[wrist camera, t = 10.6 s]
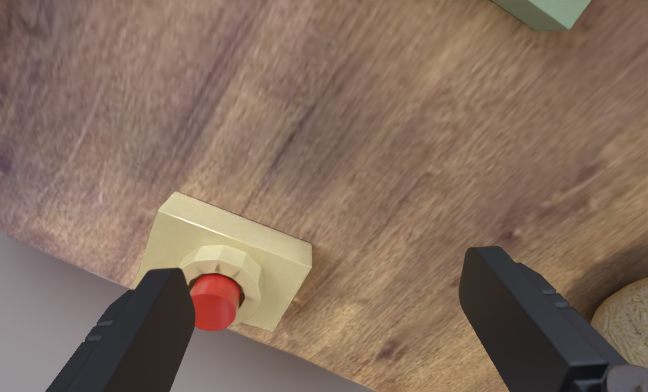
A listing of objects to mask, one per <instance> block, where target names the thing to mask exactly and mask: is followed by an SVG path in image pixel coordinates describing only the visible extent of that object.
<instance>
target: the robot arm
mask: <svg viewBox="0 0 648 392" xmlns="http://www.w3.org/2000/svg"><path fill="white" fill-rule="evenodd" d="M459 299H460V304H461V307H462V309H463V311H464V313H465V315H466V317H467V319H468V320H469V322H470V324H471V325H472V327H473V329H474V331H475V332H476V334H477V336H478V338H479V339H480V341H481V343H482V345H483V346H484V348H485V350H486V351H487V353H488V355H489V357H490V358H491V360H492V362H493V364H494V365H495V367H496V369H497V370H498V372H499V374H500V376H501V377H502V379H503V381H504V383H505V384H506V386H507V388H508V390H509V391H510V392H648V368H646V367H642V366H638V365H631V364H630V363H628V362H627V361H626V360H625V359H624V358H623V357H622V356H621V355H620V354H619V353H618V352H617V351H616V350H615V349H614V348H613V347H612V346H611V345H610V344H609V343H608V342H607V341H606V340H605V339H604V338H603V337H602V336H601V335H600V334H599V333H598V332H597V331H596V330H595V329H594V328H593V327H592V326H591V325H590V324H589V323H588V322H587V321H586V320H585V319H584V318H583V317H582V316H581V315H580V314H579V313H578V312H577V311H576V310H575V309H574V308H573V307H570V306H569V303H568V302H567V301H566V300H565V299H564V298H563V297H562V296H561V295H560V294H559V293H556V290H555V289H554V288H553V287H552V286H551V285H550V284H549V283H548V282H547V281H546V280H545V279H544V278H543V277H542V276H541V275H540V274H538V273H537V272H535V271H533V270H532V269H530V268H528V267H527V266H525V265H524V264H522V263H515V262H514V261H513V260H512V259H511V258H510V256H509V255H508V254H507V253H506V252H505V251H504V250H503V249H502V248H501V247H499V246H485V247H471V248H468V249H467V251H466V254H465V259H464V264H463V270H462V275H461V280H460V286H459ZM195 319H196V313H195V307H194V304H193V300H192V297H191V294H190V291H189V288H188V285H187V282H186V279H185V275H184V273H183V271H182V269H181V268H178V267H177V268H163V269H151V270H149V271H147V272H146V274H145V275H144V277H143V278H142V279H141V281H140V282H139V284H138V285H137V287H136V288H135V290H128V291H127V292H126V293H124V294H123V295H122V296H121V297H120V298H118V299H117V300H116V301H115V302H113V303H112V304H111V305H110V306H109V307H108V308H107V310H106V311H105V313H104V314H103V315H102V316H101V318H100V319H99V321H98V322H97V326H96V327H93V329H92V330H91V332H90V333H89V334H88V335H87V337H86V339H85V342H82V343H81V345H80V346H79V347H78V349H77V350H76V351H75V353H74V354H73V356H72V357H71V358H70V360H69V361H68V362H67V363H66V365H65V366H64V367H63V369H62V370H61V372H60V373H59V374H58V376H57V377H56V378H55V380H54V381H53V382H52V384H51V385H50V386H49V388H48V389H47V390H46V392H169V391H170V389H171V387H172V384H173V382H174V379H175V376H176V374H177V371H178V369H179V366H180V364H181V361H182V359H183V356H184V353H185V351H186V348H187V346H188V343H189V341H190V338H191V335H192V333H193V330H194V327H195Z"/></svg>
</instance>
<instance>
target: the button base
mask: <svg viewBox="0 0 648 392" xmlns="http://www.w3.org/2000/svg"><path fill="white" fill-rule="evenodd" d="M177 267H178V268H181V269H182V271H183V273H184V275H185V279H186V282H187V285H188V288H189V291H190V290H191V288H192V286H193V284H194V282H195V281H196V280H197V279H198V278H199V277H201V276H202V275H205V274H209V273H220V274H223V275H226V276H229V277H231V278H232V279H234V280H235V281H236V282H237V283H238V284H239V286H240V288H241V299H240V303H239V306H238V310H237V314H236V317H235V320H234V321H233V323H232V324H231V325H230V326H232V325H237V324H239V323H244V324H247V325H251V326H254V327H257V328H260V329H264V330H267V331H270V332H273V331H274V330H275V328H276V326H277V325H278V323H279V322H280V320H281V318H282V317H283V315H284V313H285V312H286V310H287V308H288V307H289V305H290V303H291V302H292V300H293V298H294V297H295V295H296V293H297V292H298V290H299V288H300V287H301V285H302V283H303V282H304V280H305V278H306V277H307V275H308V273H309V272H310V270H311V268H312V244H310V243H307V242H305V241H302V240H300V239H297V238H295V237H292V236H289V235H287V234H284V233H282V232H279V231H277V230H274V229H271V228H269V227H266V226H264V225H261V224H259V223H256V222H253V221H251V220H248V219H246V218H243V217H241V216H238V215H235V214H233V213H230V212H228V211H225V210H223V209H220V208H218V207H215V206H212V205H210V204H207V203H205V202H202V201H200V200H197V199H194V198H192V197H189V196H187V195H184V194H182V193H179V192H176V191H175V192H174V193H173V194H172V195H171V196H170V197H169V198H168V199H167V201H166V202H165V203H164V204H163V205H162V206H161V207H160V208H159V209H158V211H157V214H156V217H155V220H154V224H153V227H152V230H151V233H150V236H149V240H148V243H147V246H146V249H145V252H144V256H143V259H142V262H141V265H140V268H139V272H138V275H137V278H136V281H135V285H134V288H133V289H134V290H135V288H136V287H137V285H138V284H139V282H140V281H141V279H142V278H143V277H144V275H145V274H146V272H147V271H149V270H151V269H163V268H177Z"/></svg>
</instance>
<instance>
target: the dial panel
mask: <svg viewBox="0 0 648 392" xmlns="http://www.w3.org/2000/svg"><path fill="white" fill-rule="evenodd" d="M492 1H493V2H494V3H496V4H497V5H499V6H500V7H502V8H503V9H505V10H506V11H507V12H509V13H510V14H512V15H513V16H515V17H516V18H518V19H519V20H520V21H522V22H523V23H525V24H526V25H528V26H529V27H531V28H532V29H533V30H535V31H553V30H569V29H570V28H571V27H572V26H573V24H574V23H575V22H576V20H577V19H578V18H579V16H580V15H581V14H582V12H583V11H584V10H585V8H586V7H587V6H588V4H589V3H590V1H591V0H492Z"/></svg>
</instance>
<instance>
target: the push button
mask: <svg viewBox="0 0 648 392" xmlns="http://www.w3.org/2000/svg"><path fill="white" fill-rule="evenodd" d="M190 294H191V297H192V300H193V304H194V307H195V313H196V319H195V327H197V328H199V329H203V330H208V331H217V330H221V329H224V328H227V327H228V326H230V325H231V324H232V323H233V321H234V320H235V317H236V314H237V310H238V306H239V303H240V299H241V288H240V286H239V284H238V283H237V282H236V281H235V280H234V279H232V278H231V277H229V276H226V275H223V274H220V273H209V274H205V275H202V276H201V277H199V278H198V279H197V280H196V281H195V282H194V284H193V286H192V288H191V290H190Z"/></svg>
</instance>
